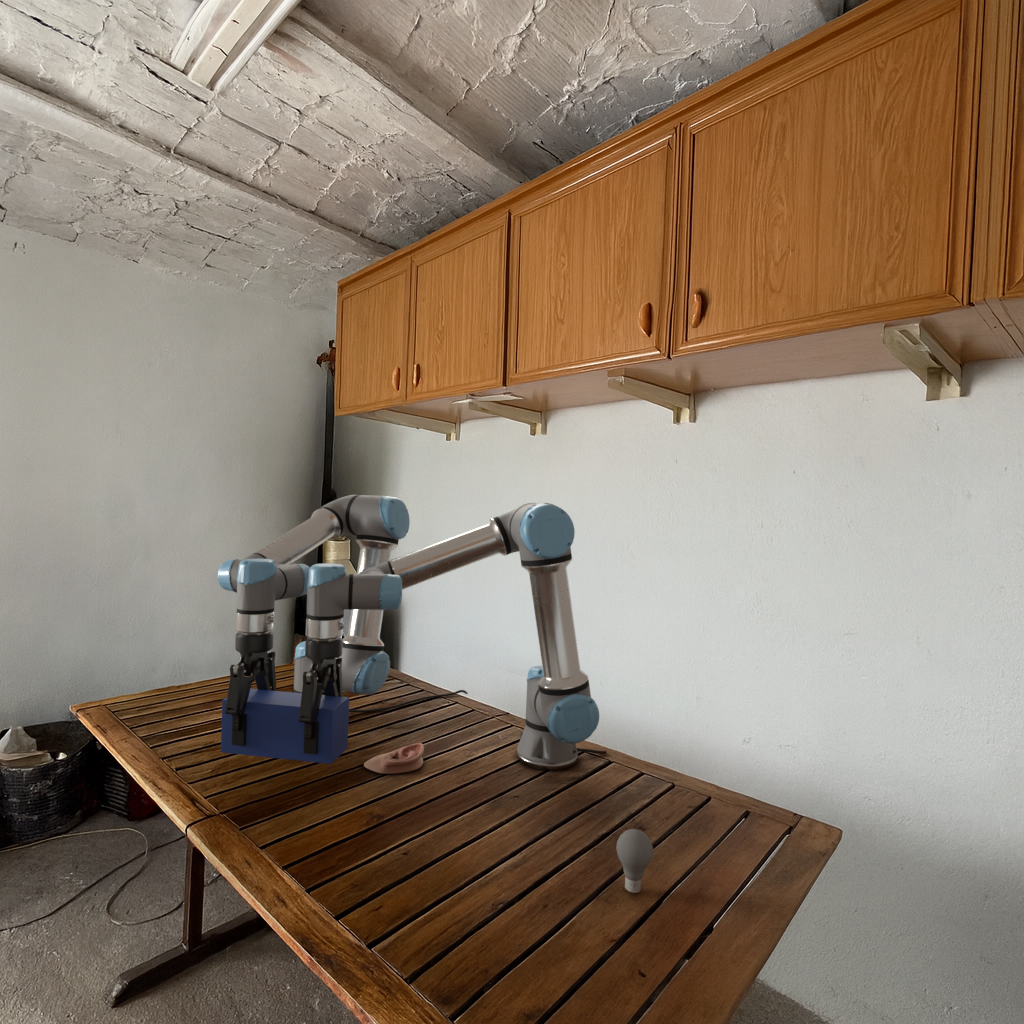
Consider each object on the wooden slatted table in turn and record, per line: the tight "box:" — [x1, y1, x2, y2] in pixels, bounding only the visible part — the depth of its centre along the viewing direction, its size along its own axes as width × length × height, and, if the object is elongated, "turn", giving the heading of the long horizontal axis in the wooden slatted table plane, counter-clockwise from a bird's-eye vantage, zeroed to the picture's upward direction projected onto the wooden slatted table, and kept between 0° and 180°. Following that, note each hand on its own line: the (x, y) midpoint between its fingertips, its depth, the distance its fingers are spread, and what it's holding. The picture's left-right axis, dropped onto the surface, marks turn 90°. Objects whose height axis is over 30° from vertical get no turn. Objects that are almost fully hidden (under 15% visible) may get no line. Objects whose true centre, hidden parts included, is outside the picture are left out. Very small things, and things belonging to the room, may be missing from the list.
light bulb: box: [615, 828, 654, 894], centre depth 106 cm, size 6×6×10 cm
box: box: [220, 688, 350, 765], centre depth 134 cm, size 24×8×11 cm, turn 82°
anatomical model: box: [363, 742, 425, 775], centre depth 151 cm, size 13×4×12 cm
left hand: (251, 736), depth 136 cm, fingers closed on box, 8 cm apart
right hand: (320, 744), depth 133 cm, fingers closed on box, 8 cm apart
